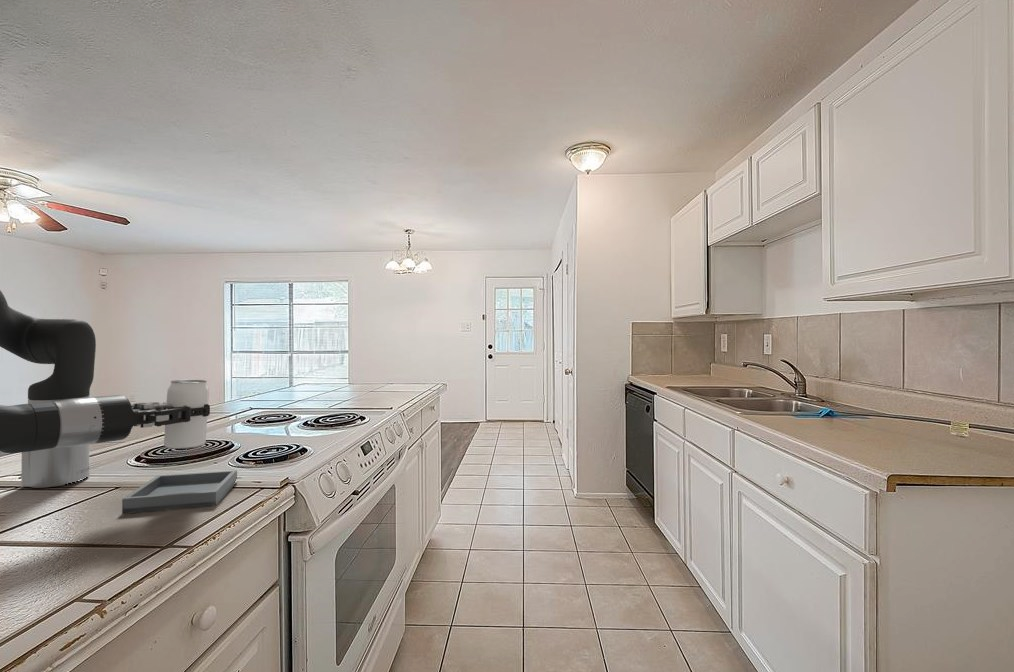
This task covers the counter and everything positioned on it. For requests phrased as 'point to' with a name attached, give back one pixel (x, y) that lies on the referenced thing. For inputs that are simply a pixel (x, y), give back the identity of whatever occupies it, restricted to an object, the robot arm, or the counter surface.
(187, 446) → the can
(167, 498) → the bin
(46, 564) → the counter surface
